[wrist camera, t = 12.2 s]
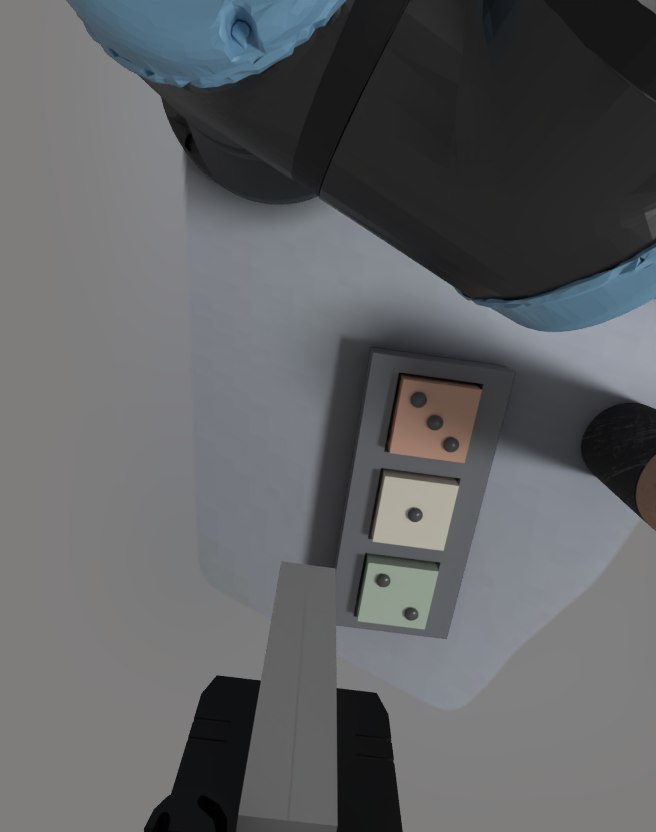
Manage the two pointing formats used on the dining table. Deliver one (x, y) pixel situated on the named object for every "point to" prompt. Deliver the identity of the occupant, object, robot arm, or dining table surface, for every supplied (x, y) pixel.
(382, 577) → the button two
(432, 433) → the button three
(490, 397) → the keypad board
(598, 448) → the travel mug
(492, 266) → the robot arm
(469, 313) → the dining table surface
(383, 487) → the button one
